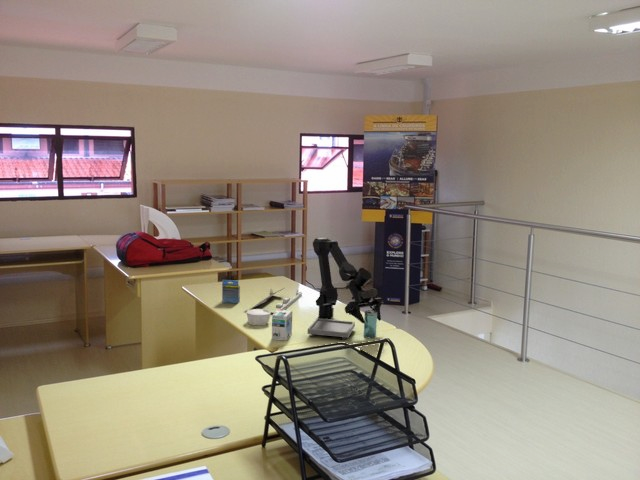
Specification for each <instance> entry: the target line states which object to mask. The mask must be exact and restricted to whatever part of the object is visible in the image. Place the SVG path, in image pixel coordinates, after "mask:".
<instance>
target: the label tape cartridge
mask: <svg viewBox="0 0 640 480" xmlns="http://www.w3.org/2000/svg"><path fill="white" fill-rule="evenodd" d="M221 283H222V284H221V285H222V288H221V289H222V293H221V295H222V296H221V297H222V301H221V302H222V303H232V304H239V303H240V301H241V300H240V299H241V286H240V285H239V280H238V279H237V280H235V279H234V280H233V279H222V282H221Z"/></svg>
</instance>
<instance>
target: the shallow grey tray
mask: <svg viewBox="0 0 640 480" xmlns="http://www.w3.org/2000/svg"><path fill="white" fill-rule="evenodd" d="M355 323H356V322H355V321H350V320H340V319H321V318H318V317H317V318H315V320H314V321H312V323H311V324H310V326H308V328H307V334H308V335H309V334H310V337H312V338H315V335H319V336H331V337H340V338H342V341H346V340H347V339H348V338H349V337H350V336H351V333H352V332H353V330H354V328H355V325H356V324H355Z"/></svg>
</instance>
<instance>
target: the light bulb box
mask: <svg viewBox="0 0 640 480" xmlns="http://www.w3.org/2000/svg"><path fill="white" fill-rule="evenodd" d="M291 335H293V310H289V309H288V310H287V309H285V310H280V308H278V309H277V310H276V311H274V312H273V313H272V315H271V340H279V341H287V340H288V339H289V338H290V337H291Z"/></svg>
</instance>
